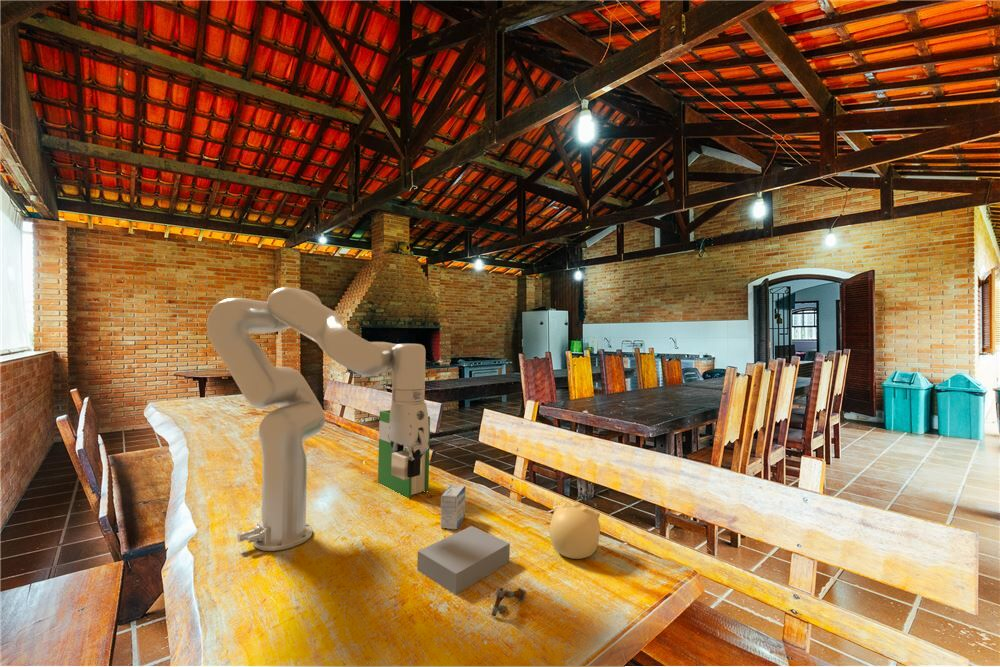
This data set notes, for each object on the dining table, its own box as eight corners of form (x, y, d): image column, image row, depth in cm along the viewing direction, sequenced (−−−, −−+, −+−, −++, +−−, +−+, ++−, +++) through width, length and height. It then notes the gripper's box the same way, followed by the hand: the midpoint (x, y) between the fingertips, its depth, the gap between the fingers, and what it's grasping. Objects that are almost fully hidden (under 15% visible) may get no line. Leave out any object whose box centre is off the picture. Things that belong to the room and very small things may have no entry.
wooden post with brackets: (485, 613, 72) (493, 585, 74) (512, 612, 78) (519, 586, 79) (493, 618, 71) (500, 589, 73) (520, 616, 77) (526, 590, 78)
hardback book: (428, 492, 129) (430, 416, 129) (408, 499, 124) (410, 419, 124) (397, 478, 141) (398, 408, 141) (377, 483, 136) (379, 411, 136)
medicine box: (456, 530, 105) (457, 496, 105) (440, 528, 106) (440, 494, 106) (465, 517, 112) (466, 485, 112) (449, 515, 113) (450, 484, 113)
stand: (455, 594, 79) (456, 573, 79) (417, 570, 87) (417, 551, 87) (509, 561, 91) (509, 543, 91) (471, 542, 99) (471, 525, 99)
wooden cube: (403, 479, 93) (404, 457, 93) (391, 474, 96) (391, 453, 96) (421, 474, 97) (422, 453, 97) (408, 469, 100) (409, 449, 100)
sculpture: (601, 543, 100) (602, 499, 100) (596, 569, 88) (597, 519, 88) (555, 535, 103) (555, 492, 103) (544, 559, 92) (545, 511, 92)
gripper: (444, 398, 94) (442, 478, 94) (400, 390, 105) (398, 461, 105) (417, 402, 88) (415, 486, 88) (374, 393, 99) (372, 468, 99)
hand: (406, 472), depth 96 cm, fingers closed on wooden cube, 5 cm apart
